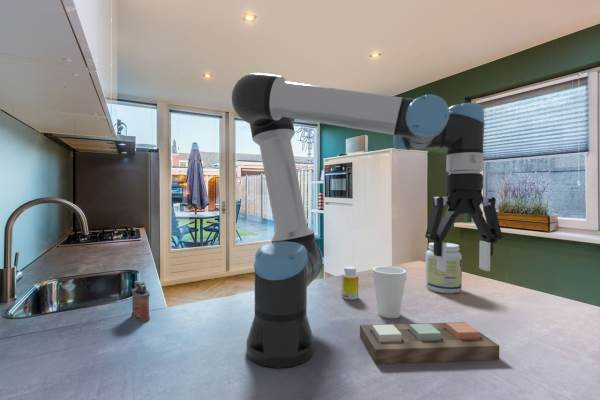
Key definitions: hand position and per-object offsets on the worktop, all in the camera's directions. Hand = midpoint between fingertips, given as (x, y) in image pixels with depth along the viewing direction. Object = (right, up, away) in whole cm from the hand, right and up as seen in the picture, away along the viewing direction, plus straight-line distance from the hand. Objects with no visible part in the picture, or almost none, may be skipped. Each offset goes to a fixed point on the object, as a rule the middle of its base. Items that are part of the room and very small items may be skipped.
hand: (463, 270), depth 71 cm
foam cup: (-12, -18, +19) cm, 29 cm away
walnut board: (-9, -18, 0) cm, 20 cm away
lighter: (-82, -17, +15) cm, 86 cm away
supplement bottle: (-21, -17, +34) cm, 43 cm away
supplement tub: (+16, -17, +44) cm, 49 cm away
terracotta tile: (0, -15, 0) cm, 15 cm away
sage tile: (-9, -15, 0) cm, 18 cm away
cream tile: (-18, -15, -1) cm, 24 cm away
